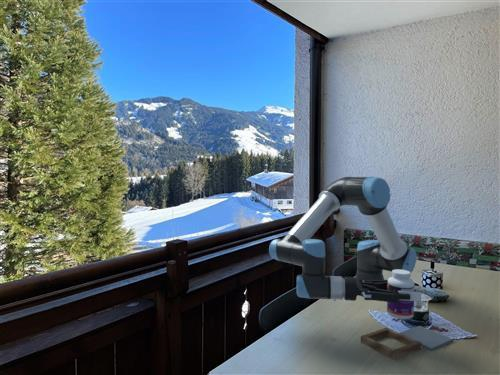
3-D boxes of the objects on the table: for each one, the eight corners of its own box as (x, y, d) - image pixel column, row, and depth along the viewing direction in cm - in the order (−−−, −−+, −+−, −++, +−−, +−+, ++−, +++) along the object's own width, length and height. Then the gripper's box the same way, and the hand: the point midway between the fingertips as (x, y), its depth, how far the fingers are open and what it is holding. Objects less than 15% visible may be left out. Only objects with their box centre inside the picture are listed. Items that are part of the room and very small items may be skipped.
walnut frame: (360, 342, 117) (360, 336, 117) (386, 332, 124) (386, 327, 123) (394, 360, 106) (394, 353, 106) (421, 348, 112) (421, 342, 112)
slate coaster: (397, 335, 121) (397, 333, 121) (419, 327, 128) (419, 325, 128) (431, 350, 111) (431, 348, 111) (452, 341, 117) (452, 339, 117)
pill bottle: (382, 311, 119) (383, 268, 118) (405, 310, 119) (406, 267, 119) (394, 321, 111) (394, 275, 110) (418, 320, 111) (419, 274, 111)
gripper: (340, 289, 128) (407, 292, 124) (346, 311, 107) (427, 316, 104) (340, 268, 128) (407, 271, 124) (347, 287, 107) (427, 291, 104)
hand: (416, 291), depth 114 cm, fingers closed on pill bottle, 8 cm apart
